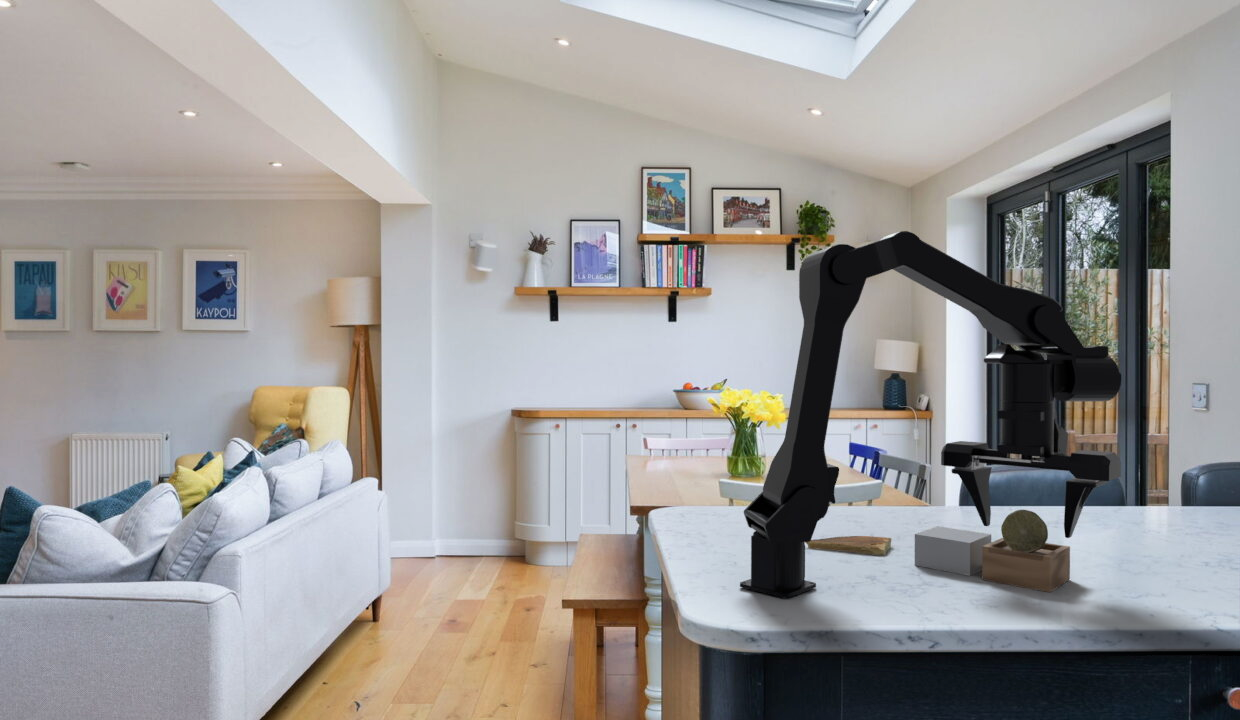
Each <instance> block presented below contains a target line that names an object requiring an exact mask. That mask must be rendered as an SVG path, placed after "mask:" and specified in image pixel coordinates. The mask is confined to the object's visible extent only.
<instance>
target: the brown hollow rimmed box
mask: <svg viewBox="0 0 1240 720" xmlns="http://www.w3.org/2000/svg"><path fill="white" fill-rule="evenodd" d="M1070 570H1071V547H1070V546H1068V545H1062V544H1055V543H1049V542H1046V543H1045V545H1044V547H1043V548H1042V549H1040V550H1037V551H1034V552H1030V553H1029V552H1023V551H1017V550H1012V549H1011V548H1010V547H1009V546H1008V545H1007V544H1006V542H1005V541H1004V539H1003V537H1001V538H999V539H996V540H994V541H991V543H989V544H987V545H984V546H982V570H981V580H983V581H988V582H993V583H999V584H1005V585H1008V586H1016V587H1020V588H1026V589H1031V590H1036V591H1041V592H1047V593H1051V592H1053V591H1054V590H1055V589H1057V588H1059V587H1060V585H1061V586H1062V585H1064V584H1065V583H1067V582H1068V581H1067V580H1069V579H1071V575H1070V574H1071V571H1070ZM1066 581H1067V582H1066ZM1069 581H1070V580H1069ZM1064 582H1065V583H1064ZM1063 583H1064V584H1063Z"/></svg>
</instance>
